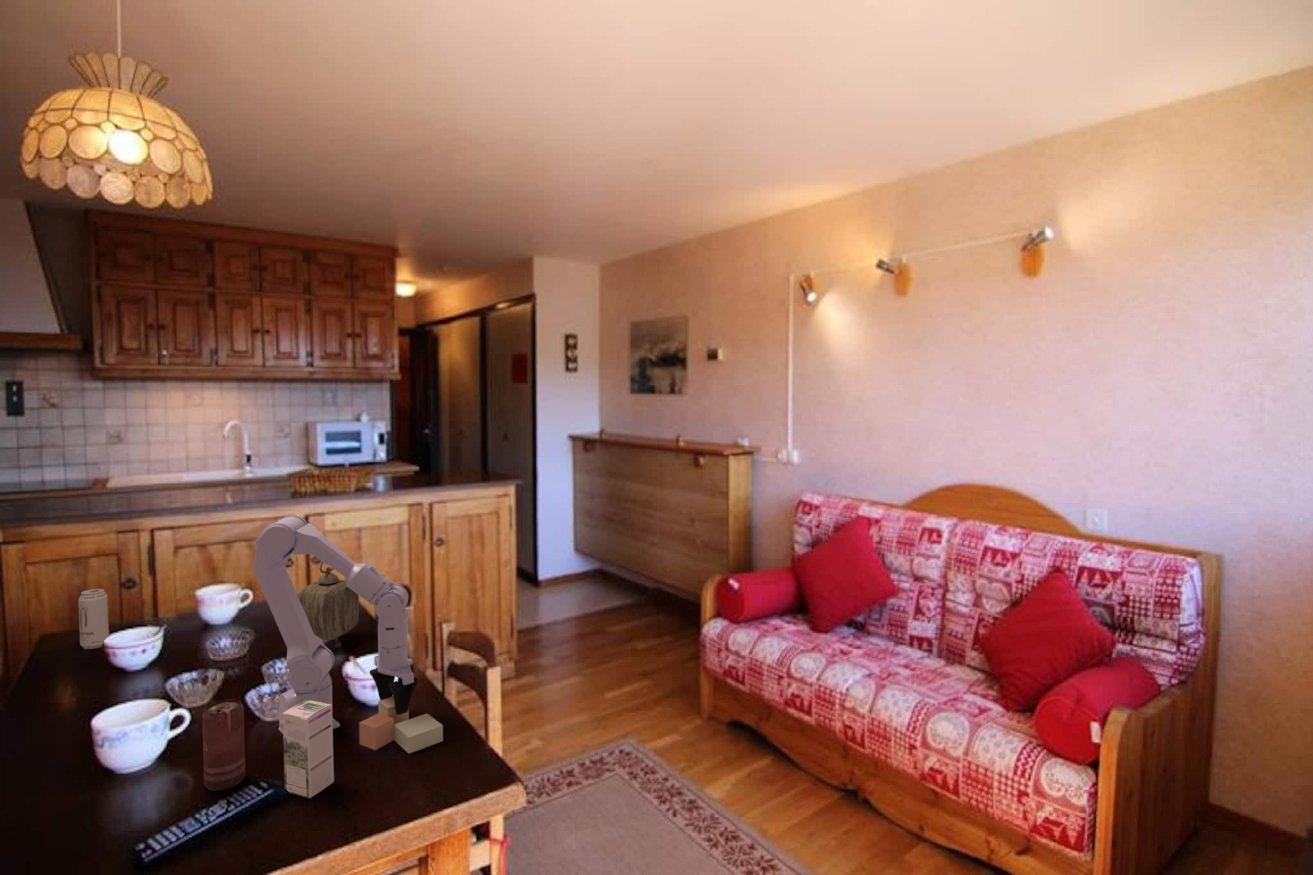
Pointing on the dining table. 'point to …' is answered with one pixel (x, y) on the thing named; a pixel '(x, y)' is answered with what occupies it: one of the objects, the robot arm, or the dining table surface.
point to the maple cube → (391, 710)
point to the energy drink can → (93, 618)
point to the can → (223, 744)
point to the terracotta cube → (376, 731)
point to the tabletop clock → (330, 606)
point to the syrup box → (308, 748)
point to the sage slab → (418, 733)
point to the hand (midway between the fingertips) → (394, 706)
